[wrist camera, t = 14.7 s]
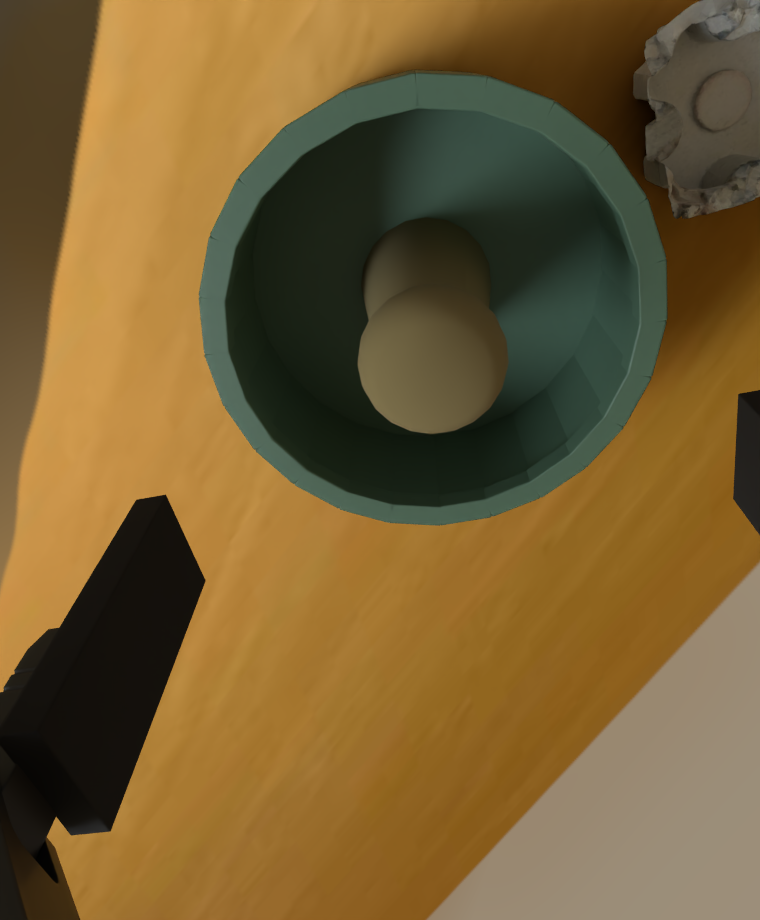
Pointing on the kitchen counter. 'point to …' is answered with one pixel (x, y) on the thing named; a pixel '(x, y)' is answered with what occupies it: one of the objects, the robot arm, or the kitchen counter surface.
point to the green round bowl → (511, 297)
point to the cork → (430, 328)
